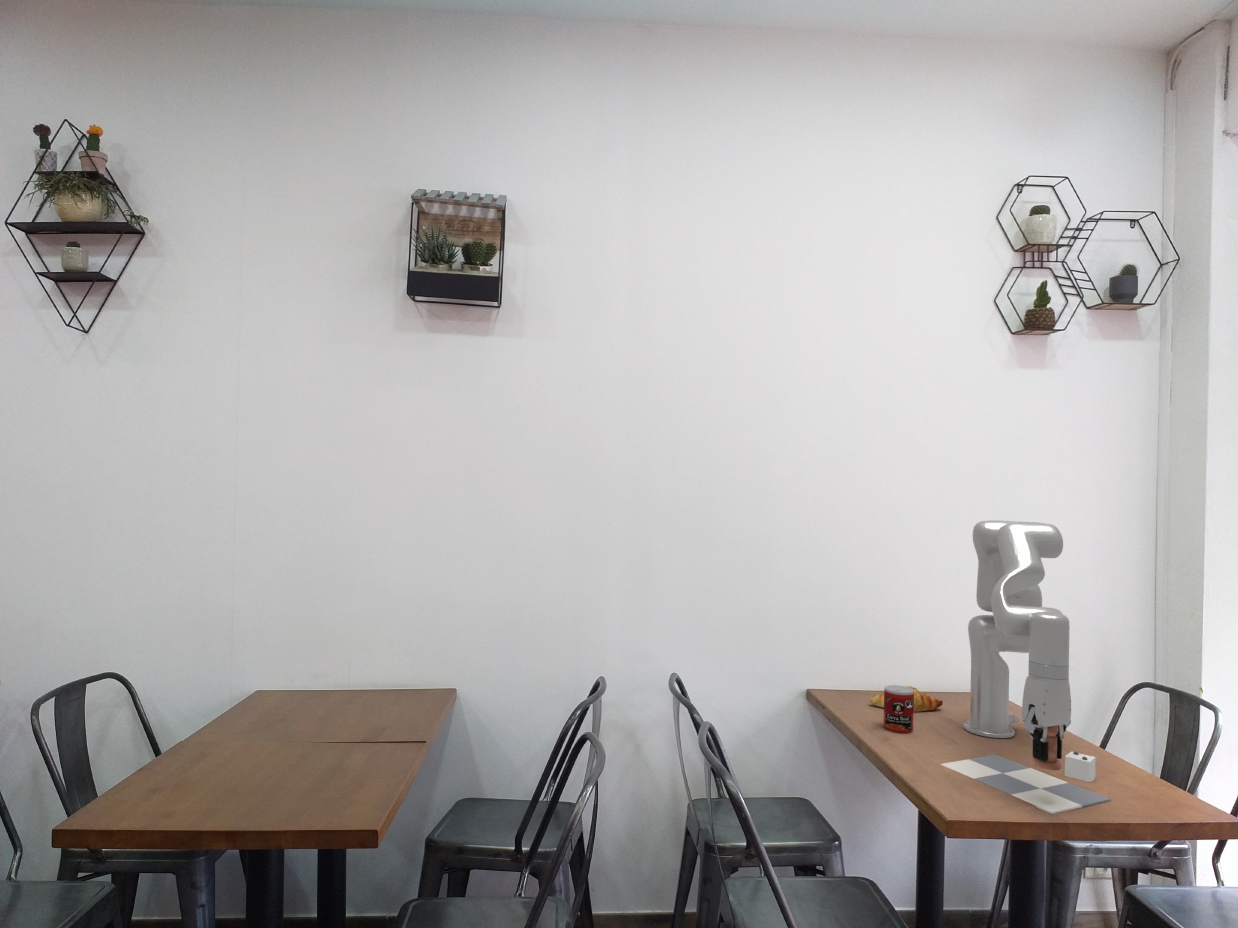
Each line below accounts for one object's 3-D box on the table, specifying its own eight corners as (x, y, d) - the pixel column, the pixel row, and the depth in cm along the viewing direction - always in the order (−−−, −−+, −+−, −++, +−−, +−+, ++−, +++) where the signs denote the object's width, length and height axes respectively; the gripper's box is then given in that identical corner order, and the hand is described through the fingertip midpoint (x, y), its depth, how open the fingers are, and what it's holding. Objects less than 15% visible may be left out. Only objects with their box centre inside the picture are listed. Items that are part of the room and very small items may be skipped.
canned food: (882, 731, 208) (883, 690, 208) (884, 722, 215) (885, 683, 216) (912, 735, 205) (913, 693, 205) (913, 727, 212) (914, 687, 213)
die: (1071, 772, 182) (1071, 748, 182) (1095, 778, 178) (1095, 754, 178) (1064, 777, 178) (1065, 753, 178) (1089, 784, 175) (1089, 759, 175)
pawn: (1043, 760, 167) (1044, 713, 167) (1066, 768, 162) (1067, 720, 162) (1027, 763, 165) (1028, 715, 165) (1050, 771, 160) (1050, 722, 160)
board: (995, 756, 191) (995, 754, 191) (1110, 800, 165) (1110, 798, 165) (940, 765, 183) (940, 763, 183) (1051, 814, 157) (1051, 812, 157)
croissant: (871, 720, 229) (874, 700, 226) (864, 696, 238) (867, 676, 235) (945, 723, 227) (949, 702, 224) (935, 698, 236) (939, 678, 233)
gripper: (1057, 664, 171) (1056, 748, 170) (1006, 669, 164) (1004, 756, 163) (1090, 672, 164) (1089, 759, 164) (1038, 677, 157) (1036, 768, 157)
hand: (1047, 756), depth 163 cm, fingers closed on pawn, 3 cm apart
